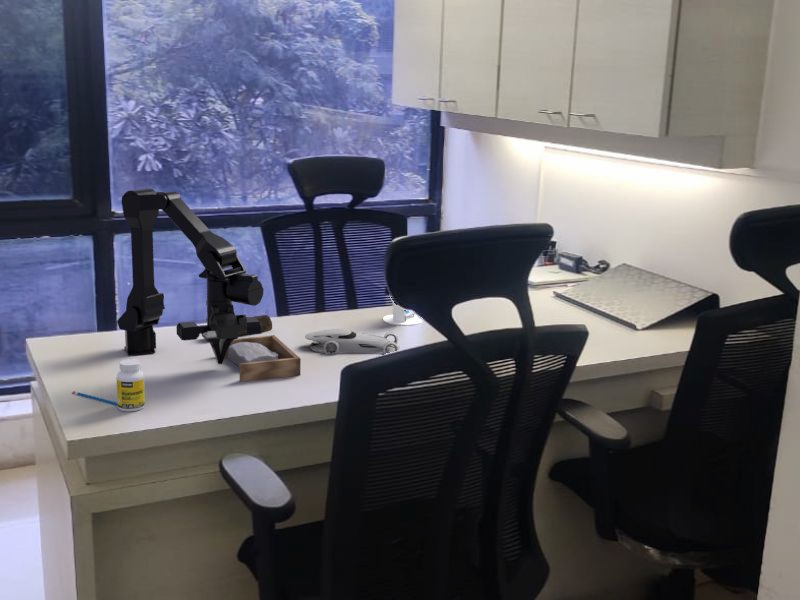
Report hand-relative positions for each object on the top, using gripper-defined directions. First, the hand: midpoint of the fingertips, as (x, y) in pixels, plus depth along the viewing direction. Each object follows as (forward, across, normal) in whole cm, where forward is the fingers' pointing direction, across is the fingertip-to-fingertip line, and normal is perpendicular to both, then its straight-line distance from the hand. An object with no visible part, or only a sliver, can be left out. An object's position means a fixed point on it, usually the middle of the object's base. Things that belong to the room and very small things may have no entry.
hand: (219, 363), depth 209 cm
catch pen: (+1, +9, 0) cm, 9 cm away
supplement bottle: (+2, -23, -18) cm, 29 cm away
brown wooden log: (+2, +12, +26) cm, 29 cm away
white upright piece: (+1, +60, +25) cm, 65 cm away
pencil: (+2, -28, -12) cm, 30 cm away
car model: (+2, +36, +5) cm, 36 cm away
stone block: (+2, +9, +3) cm, 10 cm away
